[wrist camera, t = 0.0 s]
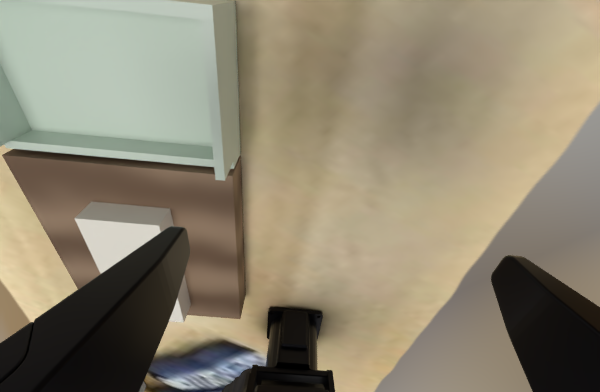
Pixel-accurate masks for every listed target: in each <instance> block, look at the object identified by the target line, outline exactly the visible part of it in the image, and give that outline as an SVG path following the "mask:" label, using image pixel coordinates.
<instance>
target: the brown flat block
mask: <svg viewBox="0 0 600 392" xmlns="http://www.w3.org/2000/svg"><path fill="white" fill-rule="evenodd" d="M2 156H3V158H4V159H5V161H6V163H7V165H8V166H9V168H10V170H11V172H12V173H13V175H14V177H15V179H16V180H17V182H18V184H19V186H20V188H21V189H22V191H23V193H24V195H25V196H26V198H27V200H28V202H29V203H30V205H31V207H32V209H33V210H34V212H35V214H36V216H37V217H38V219H39V221H40V223H41V225H42V226H43V228H44V230H45V232H46V233H47V235H48V237H49V239H50V240H51V242H52V244H53V246H54V247H55V249H56V251H57V253H58V254H59V256H60V258H61V260H62V261H63V263H64V265H65V267H66V269H67V270H68V272H69V274H70V276H71V277H72V279H73V281H74V283H75V284H76V286H77V288H78V289H80V288H81V287H83V286H84V285H86V284H87V283H88V282H90V281H91V280H93V279H94V278H96V277H97V276H99V275H100V274H101V273H100V272H99V269H98V267H97V265H96V263H95V261H94V259H93V257H92V255H91V252H90V250H89V248H88V246H87V244H86V242H85V240H84V238H83V236H82V233H81V231H80V229H79V227H78V225H77V223H76V221H75V219H74V218H75V217H76V216H77V215H78V214H79V213H80V212H81V211H82V210H83V209H85V208H86V207H87V206H88V205H89V204H90V203H91V202H101V203H112V204H124V205H135V206H146V207H158V208H169V209H170V211H171V215H172V220H173V225H174V226H177V227H184V228H186V230H187V234H188V239H189V244H190V256H189V260H188V263H187V267H186V270H185V273H184V275H185V280H186V284H187V289H188V293H189V298H190V303H191V305H190V308H189V310H188V313H187V315H196V316H209V317H221V318H234V319H240V318H241V313H242V308H243V304H244V299H245V269H244V239H243V209H242V179H241V156H239V158H238V160H237V163H236V165H235V167H234V169H230V171H229V173H228V175H227V177H226V179H225V181H223V180H215V169H214V167H207V166H196V165H185V164H174V163H163V162H153V161H142V160H131V159H120V158H109V157H98V156H87V155H76V154H65V153H55V152H44V151H33V150H22V149H13V150H11V151H9V152H7V153H5V154H3V155H2Z"/></svg>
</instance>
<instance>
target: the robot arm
mask: <svg viewBox="0 0 600 392" xmlns="http://www.w3.org/2000/svg"><path fill="white" fill-rule="evenodd" d="M189 256H190V244H189V239H188V234H187V230H186V228H184V227H177V226H170V227H168V228H166V229H165V230H164V231H162V232H161V233H159V234H158V235H156V236H155V237H153V238H152V239H151V240H149V241H148V242H146V243H145V244H143V245H142V246H140V247H139V248H138V249H136V250H135V251H133V252H132V253H130V254H129V255H127V256H126V257H125V258H123V259H122V260H120V261H119V262H117V263H116V264H114V265H113V266H112V267H110V268H109V269H107V270H106V271H104V272H103V273H101V274H100V275H99V276H97V277H96V278H94V279H93V280H91V281H90V282H88V283H87V284H86V285H84V286H83V287H81V288H80V289H78V290H77V291H75V292H74V293H73V294H71V295H70V296H68V297H67V298H65V299H64V300H62V301H61V302H60V303H58V304H57V305H55V306H54V307H52V308H51V309H49V310H48V311H47V312H45V313H44V314H42V315H41V316H39V317H38V318H36V319H35V321H34V322H31V323H29V324H28V325H26V326H25V327H23V328H22V329H20V330H19V331H17V332H16V333H15V334H13V335H12V336H10V337H9V338H7V339H6V340H4V341H3V342H1V343H0V392H139V391H140V388H141V386H142V384H143V381H144V379H145V377H146V374H147V372H148V369H149V367H150V365H151V362H152V360H153V358H154V355H155V353H156V350H157V348H158V346H159V343H160V341H161V338H162V336H163V334H164V331H165V329H166V327H167V324H168V322H169V319H170V317H171V315H172V312H173V309H174V307H175V304H176V301H177V297H178V294H179V291H180V287H181V284H182V280H183V277H184V273H185V270H186V267H187V263H188V260H189ZM491 282H492V285H493V288H494V291H495V294H496V298H497V301H498V303H499V307H500V310H501V313H502V316H503V320H504V323H505V326H506V329H507V332H508V334H509V337H510V339H511V342H512V344H513V347H514V349H515V351H516V353H517V356H518V358H519V361H520V363H521V365H522V368H523V370H524V372H525V374H526V377H527V379H528V382H529V384H530V386H531V389H532V391H533V392H600V307H599V306H597V305H596V304H594V303H593V302H591V301H590V300H588V299H587V298H585V297H583V296H582V295H580V294H579V293H577V292H576V291H574V290H573V289H571V288H570V287H568V286H567V285H565V284H564V283H562V282H561V281H559V280H558V279H556V278H555V277H553V276H552V275H550V274H549V273H547V272H546V271H544V270H543V269H541V268H539V267H538V266H537V265H535V264H534V263H532V262H531V261H529V260H527V259H526V258H524V257H521V256H511V255H508V256H505V257H504V258H503V259H502V260H501V262H500V263H499V265H498V266H497V267H496V269H495V270H494V272H493V273H492V276H491ZM322 318H323V314H322V312H320V311H309V310H297V309H284V308H269V310H268V326H267V338H268V339H269V345H268V353H267V362H266V367H265V366H258V365H253V367H252V370H251V371H248V372H247V373H246V379H245V384H244V390H243V392H335V388H334V380H333V372H332V370H327V371H319V370H317V339H318V335H319V330H320V326H321V322H322Z"/></svg>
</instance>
